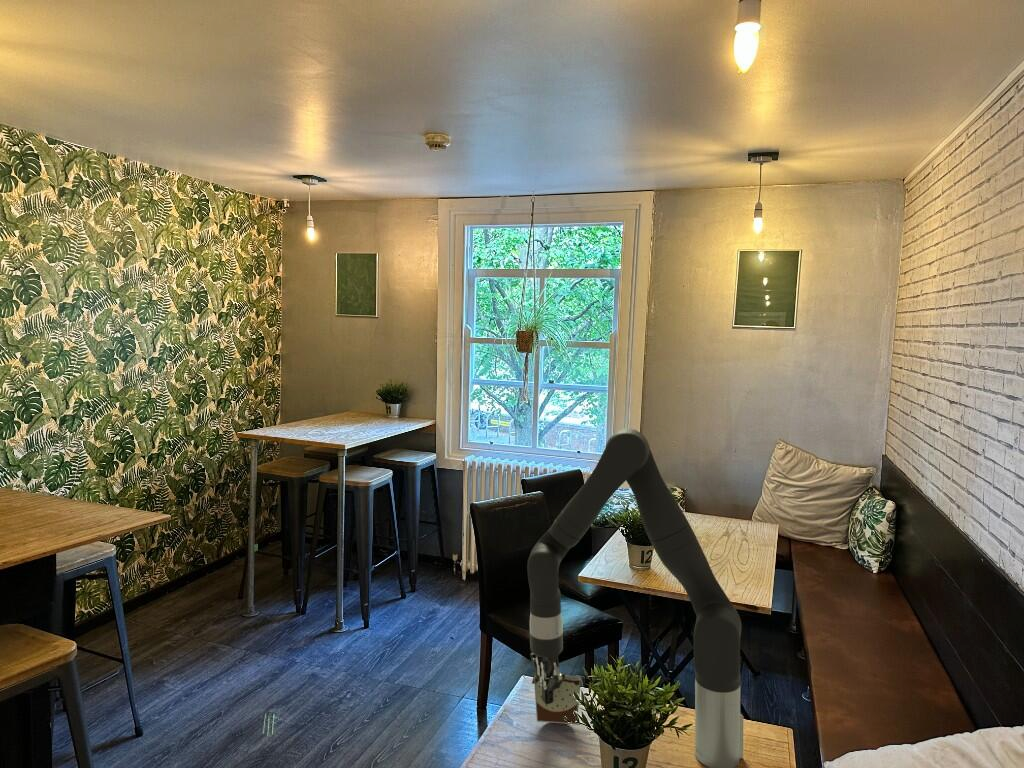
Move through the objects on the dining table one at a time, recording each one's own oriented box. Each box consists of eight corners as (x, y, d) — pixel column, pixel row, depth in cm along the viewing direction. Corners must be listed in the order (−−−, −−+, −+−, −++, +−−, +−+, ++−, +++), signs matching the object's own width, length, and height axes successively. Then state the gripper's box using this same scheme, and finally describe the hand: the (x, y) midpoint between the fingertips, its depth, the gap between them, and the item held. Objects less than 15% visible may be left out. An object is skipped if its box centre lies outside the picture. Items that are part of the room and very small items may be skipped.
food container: (588, 722, 154) (588, 676, 158) (582, 724, 149) (582, 676, 153) (537, 719, 158) (538, 674, 162) (530, 721, 153) (532, 674, 157)
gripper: (575, 638, 145) (576, 712, 147) (546, 615, 157) (548, 683, 159) (545, 646, 142) (547, 722, 144) (518, 622, 154) (520, 692, 156)
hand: (547, 701), depth 151 cm, fingers closed
